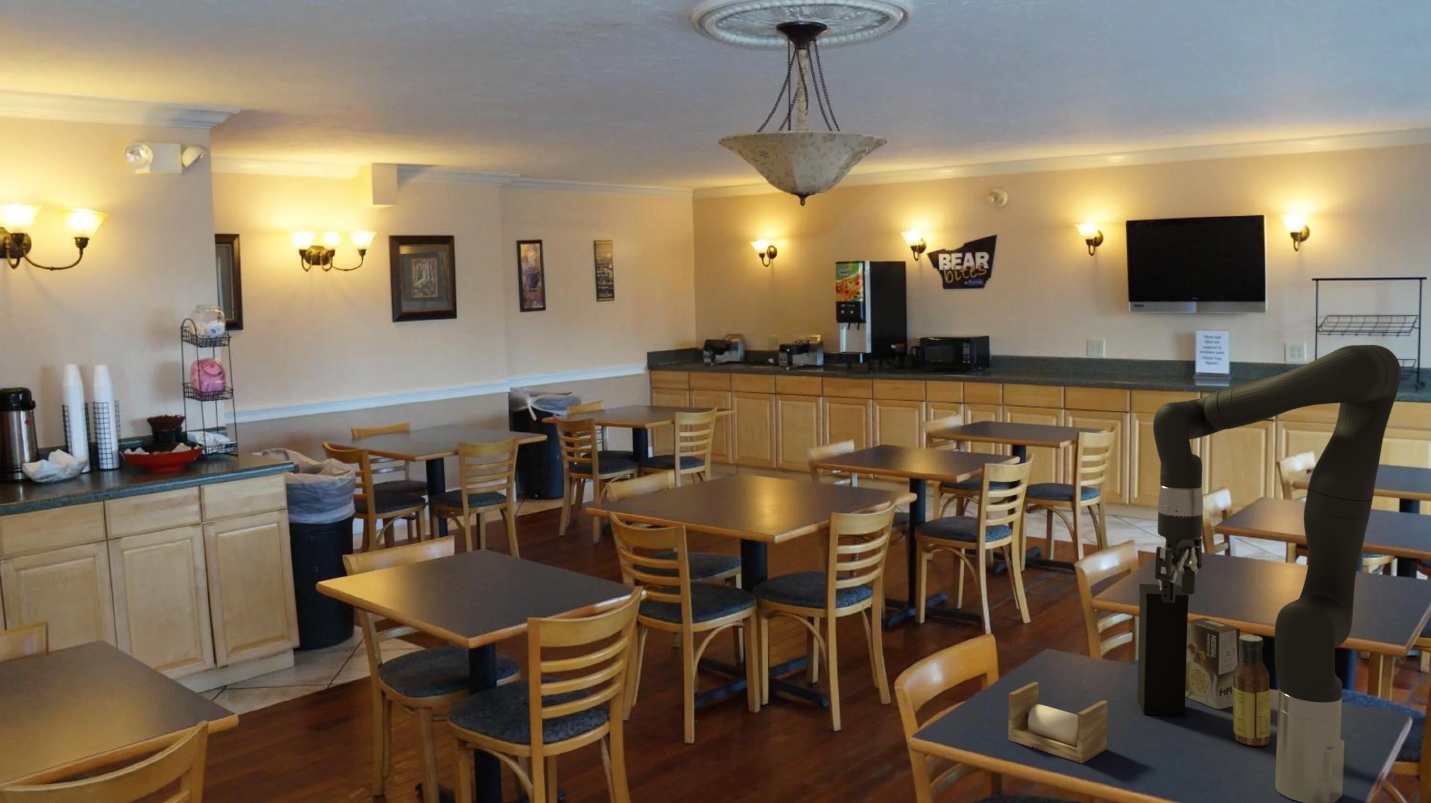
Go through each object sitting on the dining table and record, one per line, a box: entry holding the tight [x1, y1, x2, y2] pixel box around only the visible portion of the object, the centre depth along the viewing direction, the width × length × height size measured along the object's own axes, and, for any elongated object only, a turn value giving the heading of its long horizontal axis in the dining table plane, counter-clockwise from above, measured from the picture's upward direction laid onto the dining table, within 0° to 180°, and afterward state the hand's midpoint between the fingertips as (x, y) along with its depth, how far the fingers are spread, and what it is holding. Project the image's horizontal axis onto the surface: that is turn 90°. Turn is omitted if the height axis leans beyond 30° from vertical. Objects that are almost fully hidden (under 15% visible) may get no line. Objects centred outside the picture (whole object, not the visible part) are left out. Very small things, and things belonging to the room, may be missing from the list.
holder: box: [1007, 681, 1109, 764], centre depth 203 cm, size 15×9×9 cm, turn 43°
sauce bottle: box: [1232, 634, 1271, 747], centre depth 204 cm, size 6×6×20 cm
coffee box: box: [1185, 617, 1241, 710], centre depth 225 cm, size 9×6×16 cm
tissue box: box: [1136, 579, 1190, 717], centre depth 220 cm, size 8×8×28 cm
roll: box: [1028, 704, 1078, 746], centre depth 203 cm, size 10×6×6 cm, turn 44°
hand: (1178, 597), depth 200 cm, fingers open, 8 cm apart
